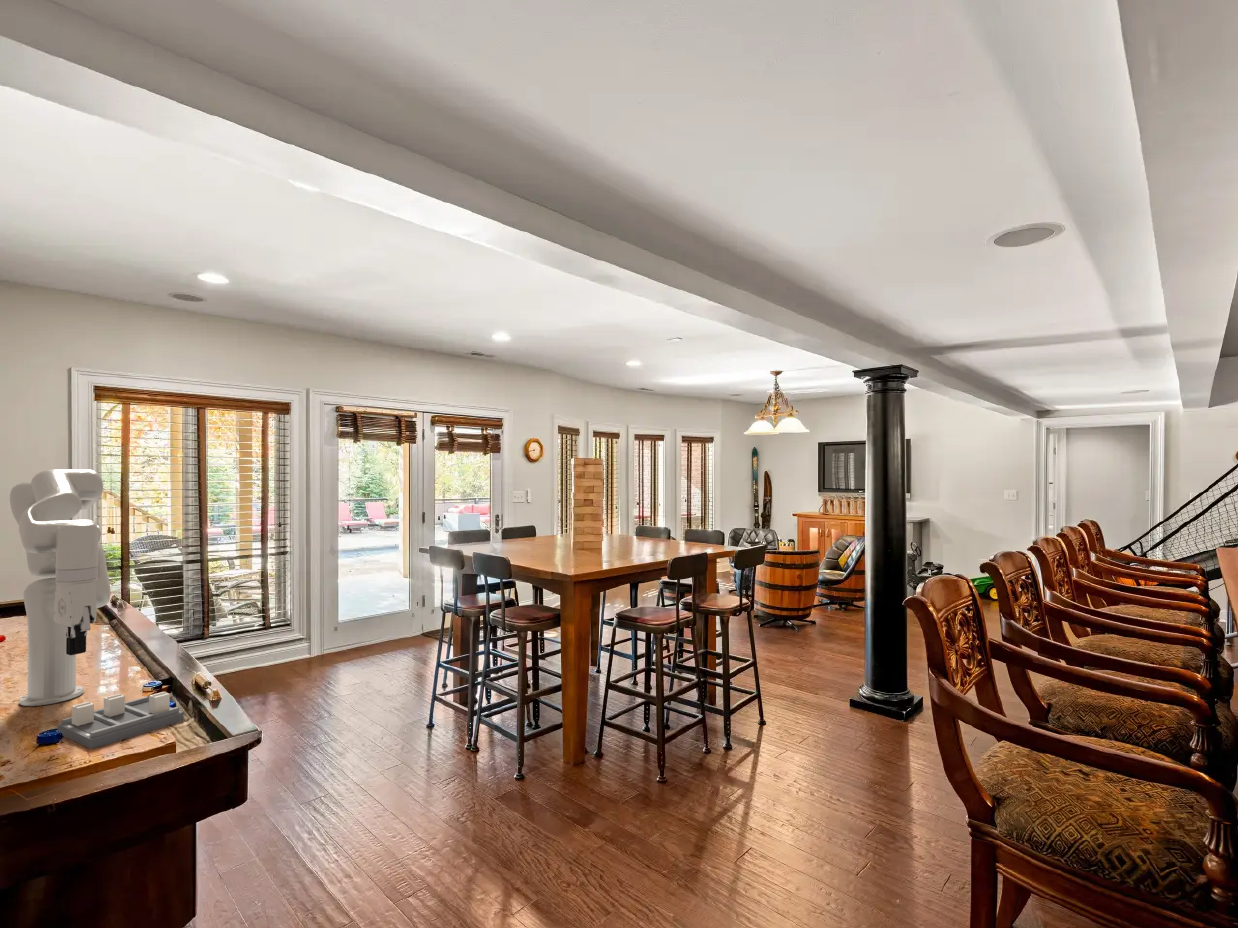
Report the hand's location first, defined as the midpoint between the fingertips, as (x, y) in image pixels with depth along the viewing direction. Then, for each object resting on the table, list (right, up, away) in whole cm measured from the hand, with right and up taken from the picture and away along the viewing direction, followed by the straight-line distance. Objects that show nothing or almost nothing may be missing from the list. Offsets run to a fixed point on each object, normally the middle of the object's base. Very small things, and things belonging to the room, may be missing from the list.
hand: (76, 653), depth 148 cm
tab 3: (+18, -15, +2) cm, 23 cm away
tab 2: (+8, -15, +1) cm, 17 cm away
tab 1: (+5, -15, -4) cm, 16 cm away
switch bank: (+12, -17, -1) cm, 20 cm away
